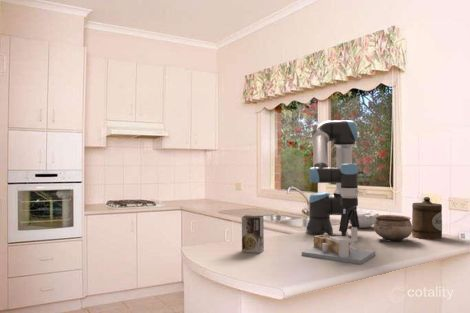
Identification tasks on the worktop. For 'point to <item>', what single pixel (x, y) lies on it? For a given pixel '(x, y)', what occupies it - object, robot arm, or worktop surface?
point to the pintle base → (340, 251)
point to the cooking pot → (393, 227)
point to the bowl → (365, 218)
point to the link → (331, 244)
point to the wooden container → (427, 220)
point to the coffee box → (252, 234)
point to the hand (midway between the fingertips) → (349, 243)
